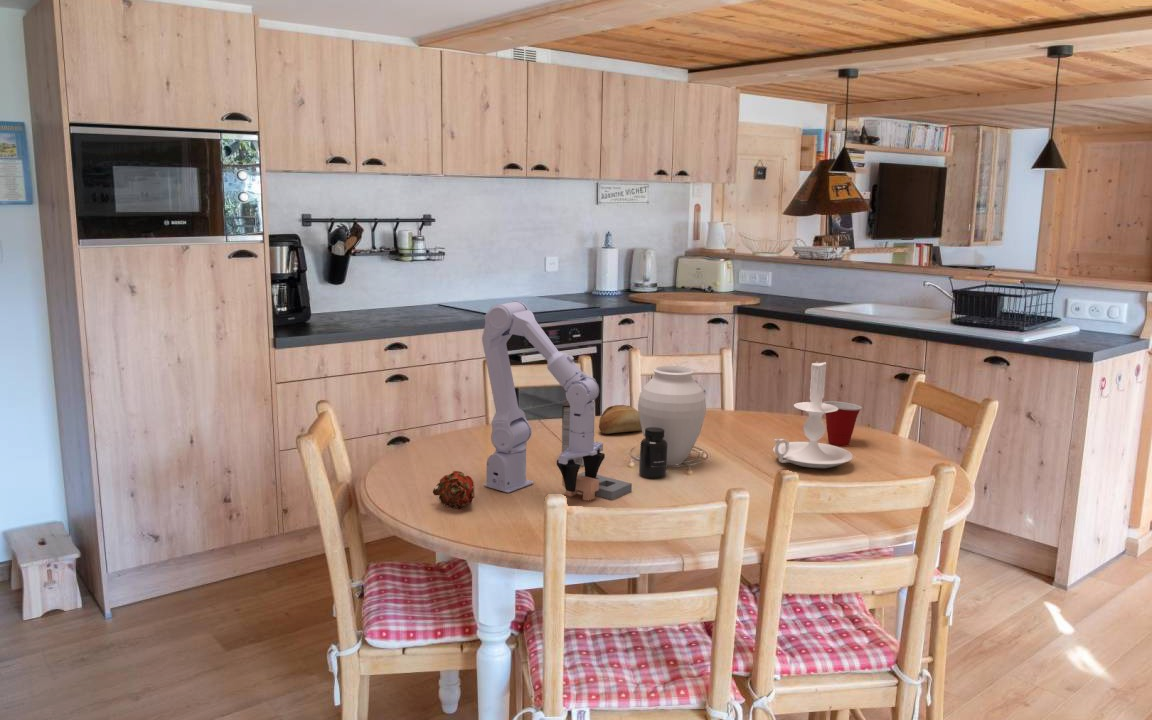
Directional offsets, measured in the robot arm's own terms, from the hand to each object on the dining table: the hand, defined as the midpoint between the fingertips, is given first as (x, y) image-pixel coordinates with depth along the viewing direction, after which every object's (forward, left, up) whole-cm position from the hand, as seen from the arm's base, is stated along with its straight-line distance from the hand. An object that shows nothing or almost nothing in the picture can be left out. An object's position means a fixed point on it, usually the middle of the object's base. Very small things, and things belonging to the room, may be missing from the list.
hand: (580, 486), depth 206 cm
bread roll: (+54, +26, -3) cm, 60 cm away
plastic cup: (+86, -29, -3) cm, 91 cm away
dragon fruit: (-23, +18, -3) cm, 29 cm away
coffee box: (+22, +18, -3) cm, 29 cm away
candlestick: (+60, -30, -3) cm, 67 cm away
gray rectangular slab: (+7, 0, -2) cm, 7 cm away
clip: (0, 0, -2) cm, 2 cm away
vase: (+38, -1, -3) cm, 38 cm away
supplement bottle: (+25, -4, -3) cm, 25 cm away
